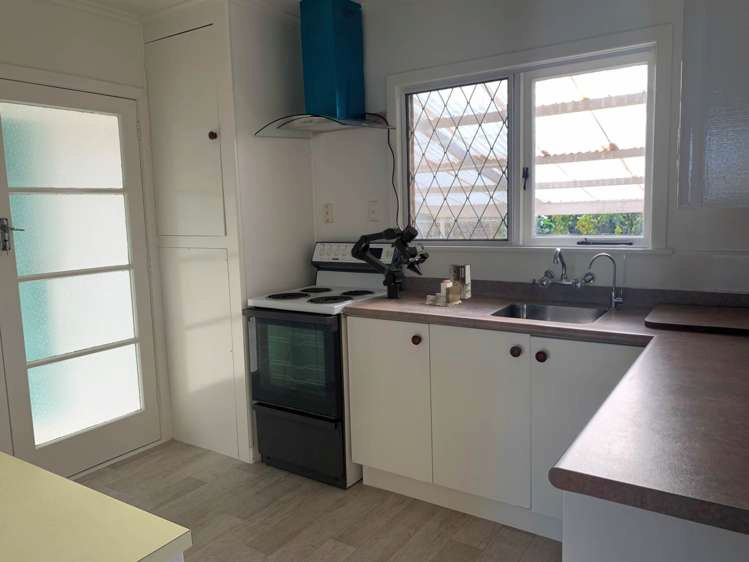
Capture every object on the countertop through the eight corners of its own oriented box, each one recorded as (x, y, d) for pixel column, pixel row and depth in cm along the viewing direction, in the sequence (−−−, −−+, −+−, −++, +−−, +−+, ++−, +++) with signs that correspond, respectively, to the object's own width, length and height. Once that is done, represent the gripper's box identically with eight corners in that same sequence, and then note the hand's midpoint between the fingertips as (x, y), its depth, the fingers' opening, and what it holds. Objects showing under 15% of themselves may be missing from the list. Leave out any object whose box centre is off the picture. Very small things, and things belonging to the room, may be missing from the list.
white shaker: (439, 301, 267) (439, 280, 266) (446, 299, 271) (445, 279, 270) (447, 302, 264) (447, 281, 263) (454, 300, 268) (453, 280, 267)
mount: (425, 304, 269) (424, 286, 268) (438, 300, 277) (438, 283, 276) (447, 306, 261) (447, 288, 260) (461, 303, 269) (461, 285, 268)
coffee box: (471, 297, 285) (471, 264, 282) (466, 299, 279) (465, 265, 277) (454, 295, 289) (454, 263, 287) (448, 297, 284) (448, 264, 282)
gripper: (398, 241, 268) (416, 268, 263) (426, 235, 280) (443, 261, 275) (387, 256, 276) (404, 282, 271) (414, 249, 288) (431, 274, 283)
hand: (421, 274), depth 275 cm, fingers closed
